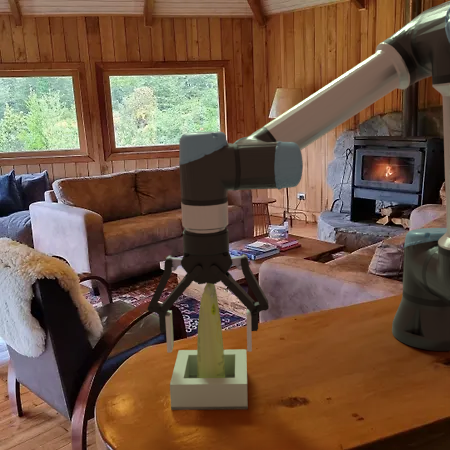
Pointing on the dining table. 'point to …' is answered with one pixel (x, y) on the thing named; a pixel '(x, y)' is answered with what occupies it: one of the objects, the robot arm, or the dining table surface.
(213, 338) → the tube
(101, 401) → the dining table surface
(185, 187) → the robot arm
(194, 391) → the socket block
